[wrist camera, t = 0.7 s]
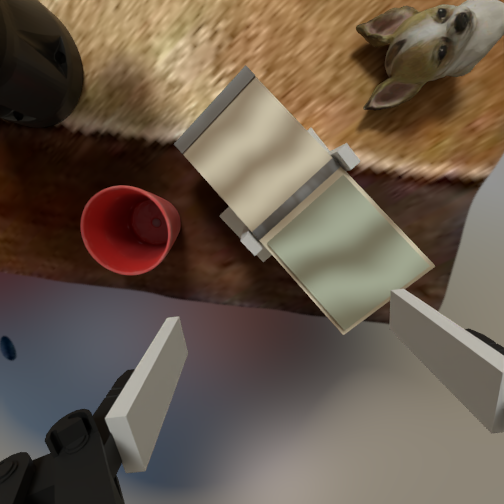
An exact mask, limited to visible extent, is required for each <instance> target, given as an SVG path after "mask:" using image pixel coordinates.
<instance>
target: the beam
mask: <svg viewBox="0 0 504 504" xmlns="http://www.w3.org/2000/svg"><path fill="white" fill-rule="evenodd" d="M174 145H175V146H176V147H177V148H178V149H179V151H180V152H181V153H182V154H183V155H184V156H185V157H186V158H187V159H188V160H189V162H190V163H191V164H192V165H193V166H194V167H195V168H196V169H197V171H198V172H199V173H200V174H201V175H202V176H203V177H204V178H205V180H206V181H207V182H208V183H209V184H210V185H211V186H212V188H213V189H214V190H215V191H216V192H217V193H218V194H219V195H220V197H221V198H222V199H223V200H224V201H225V202H226V203H227V204H228V206H229V207H230V208H231V209H232V210H233V211H234V212H235V213H236V215H237V216H238V217H239V218H240V219H241V220H242V221H243V223H244V224H245V225H246V226H247V227H248V228H249V229H250V230H251V232H252V233H253V234H254V235H255V236H256V237H257V239H258V240H259V241H260V242H261V243H262V244H263V245H264V246H265V247H266V248H267V250H268V251H269V252H270V253H271V254H272V255H273V256H274V258H275V259H276V260H277V261H278V262H279V263H280V264H281V265H282V267H283V268H284V269H285V270H286V271H287V272H288V273H289V274H290V276H291V277H292V278H293V279H294V280H295V281H296V282H297V283H298V285H299V286H300V287H301V288H302V289H303V290H304V291H305V293H306V294H307V295H308V296H309V297H310V298H311V299H312V300H313V302H314V303H315V304H316V305H317V306H318V307H319V308H320V309H321V311H322V312H323V313H324V314H325V315H326V316H327V317H328V318H329V320H330V321H331V322H332V323H333V324H334V325H335V326H336V327H337V329H338V330H339V331H340V332H341V333H342V334H343V335H344V334H345V333H347V332H348V331H350V330H351V329H352V328H354V327H355V326H356V325H358V324H359V323H360V322H362V321H363V320H364V319H366V318H367V317H368V316H370V315H371V314H372V313H374V312H375V311H376V310H378V309H379V308H380V307H382V306H383V305H384V304H386V303H387V302H388V301H390V297H391V290H396V289H406V288H407V287H408V286H410V285H411V284H412V283H414V282H415V281H416V280H418V279H419V278H420V277H422V276H423V275H424V274H426V273H427V272H428V271H430V270H431V269H432V268H434V267H435V265H434V264H433V263H432V262H431V261H430V260H429V259H428V258H427V257H426V256H425V255H424V254H423V253H422V251H421V250H420V249H419V248H418V247H417V246H416V245H415V244H414V243H413V242H412V241H411V240H410V239H409V238H408V237H407V236H406V235H405V234H404V233H403V231H402V230H401V229H400V228H399V227H398V226H397V225H396V224H395V223H394V222H393V221H392V220H391V219H390V218H389V217H388V216H387V215H386V214H385V212H384V211H383V210H382V209H381V208H380V207H379V206H378V205H377V204H376V203H375V202H374V201H373V200H372V199H371V198H370V197H369V196H368V195H367V194H366V192H365V191H364V190H363V189H362V188H361V187H360V186H359V185H358V184H357V183H356V182H355V181H354V180H353V179H352V178H351V177H350V176H349V175H348V173H347V172H346V171H345V170H344V169H343V168H342V167H341V166H340V164H339V163H338V162H337V161H336V160H335V159H334V158H332V157H331V156H330V155H329V153H328V152H327V151H326V150H325V149H324V148H323V147H322V146H321V145H320V144H319V143H318V142H317V141H316V140H315V139H314V138H313V137H312V136H311V135H310V133H309V132H308V131H307V130H306V129H305V128H304V127H303V126H302V125H301V124H300V123H299V122H298V121H297V120H296V119H295V118H294V117H293V116H292V114H291V113H290V112H289V111H288V110H287V109H286V108H285V107H284V106H283V105H282V104H281V103H280V102H279V101H278V100H277V99H276V98H275V97H274V96H273V94H272V93H271V92H270V91H269V90H268V89H267V88H266V87H265V86H264V85H263V84H262V83H261V82H260V81H259V80H258V79H257V78H256V77H255V75H254V74H253V73H252V71H251V70H250V69H249V68H248V67H247V66H245V67H244V68H243V69H242V70H241V71H240V72H239V73H238V74H237V76H236V77H235V78H234V79H233V80H232V81H231V82H230V83H229V84H228V85H227V86H226V88H225V89H224V90H223V91H222V92H221V93H220V94H219V95H218V96H217V97H216V99H215V100H214V101H213V102H212V103H211V104H210V105H209V106H208V107H207V108H206V109H205V111H204V112H203V113H202V114H201V115H200V116H199V117H198V118H197V119H196V120H195V121H194V123H193V124H192V125H191V126H190V127H189V128H188V129H187V130H186V131H185V132H184V133H183V135H182V136H181V137H180V138H179V139H178V140H177V141H176V142H175V143H174Z"/></svg>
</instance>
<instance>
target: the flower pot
mask: <svg viewBox="0 0 504 504" xmlns="http://www.w3.org/2000/svg"><path fill="white" fill-rule="evenodd" d="M180 228H181V220H180V216H179V213H178V212H177V210H176V208H175V207H174V206H173V205H172V204H171V203H170V202H168V201H167V200H165V199H163V198H161V197H159V196H157V195H155V194H152V193H150V192H147V191H145V190H142V189H140V188H136V187H133V186H126V185H119V186H112V187H109V188H106V189H103V190H101V191H99V192H98V193H97V194H95V195H94V196H93V197H92V198H91V199H90V200H89V201H88V203H87V204H86V206H85V208H84V210H83V213H82V217H81V235H82V239H83V242H84V244H85V247H86V248H87V250H88V252H89V253H90V255H91V256H92V257H93V258H94V259H95V260H96V261H97V262H98V263H99V264H100V265H102V266H103V267H105V268H106V269H108V270H110V271H112V272H115V273H118V274H122V275H140V274H144V273H146V272H149V271H151V270H152V269H154V268H155V267H157V266H158V265H159V264H160V263H161V262H162V261H163V260H164V258H165V257H166V256H167V254H168V252H169V251H170V249H171V247H172V246H173V244H174V242H175V240H176V238H177V236H178V234H179V232H180Z"/></svg>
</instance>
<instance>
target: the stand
mask: <svg viewBox="0 0 504 504" xmlns="http://www.w3.org/2000/svg"><path fill="white" fill-rule="evenodd" d="M308 132H309V133H310V135H311V136H312V137H313V138H314V139H315V140H316V141H317V142H318V143H319V144H320V145H321V146H322V147H323V148H324V149H325V150H326V151H327V152H328V153H329V155H330V156H331V157H332V158H334V159H335V160H336V161H337V162H338V163H339V164H340V166H341V167H342V168H343V169H344V170H345V171H347V170H351V169H353V168H354V167H355V166H356V165H357V164H358V163H359V162H360V160H359V159H358V157H357V156H356V155H355V153H354V152H353V151H352V150H351V148H350V147H349V146H348V144H347V143H346V144H344V145H342V146H340V147H338V148H336V149H334V150H332V151H329V149H328V148H327V147H326V146H325V144H324V143H323V142H322V141H321V139H320V138H319V137H318V136H317V134H316V133H315V132H314V130H313V129H312V128H310V129H309V130H308ZM219 217H220V218H221V219H222V220H223V221H224V222H225V223H226V224H227V225H228V226H229V227H230V228H231V229H232V230H233V231H234V232H235V233H236V234H237V235H238V236H239V237H240V239H241V242H242V243H243V244H244V245H245V246H246V247H247V248H248V249H249V250H250V251H251V253H252V254H253V255H254V256H255V255H257V256H258V257H259V258H260V259H261V260H262V261H263V262H264V261H266V260H267V259H268V258H269V257H270V256H271V255H272V254H271V253H270V252H269V251H268V250H267V248H266V247H265V246H264V245H263V244H262V243H261V242H260V241H259V240H258V239H257V237H256V236H255V235H254V234H253V233H252V232H251V230H250V229H249V228H248V227H247V226H246V225H245V224H244V223H243V221H242V220H241V219H240V218H239V217H238V216H237V215H236V213H235V212H234V211H233V210H232V209H231V208H230V207H228V208H227V209H226V210H225V211H224V212H223V213H222V214H221V215H220V216H219Z"/></svg>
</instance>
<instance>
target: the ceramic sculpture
mask: <svg viewBox="0 0 504 504" xmlns="http://www.w3.org/2000/svg"><path fill="white" fill-rule="evenodd" d="M356 30H357V32H358V33H359V34H361V35H362V36H363V37H364V38H365V40H366V41H368V42H369V43H370V44H371V45H372V46H373V47H376V48H377V47H382V46H384V45H386V44H388V43H390V47H389V49H388V51H387V53H386V58H385V68H386V72H387V74H388V76H389V77H390V78H388V79H387V80H385V81H384V82H382V83H380V84H379V85H378V86H377V87H376V88H375V90H374V92H373V93H372V95H371V97H370V99H369V100H368V102H367V103H366V104H365V106H364V107H363V109H364V110H381V109H386V108H391V107H395V106H398V105H399V104H401V103H403V102H406V101H408V100H410V99H411V98H412V97H414V96H415V95H416V94H417V93H418V92H419V90H420V89H421V87H422V86H423V85H424V84H425V83H426V82H427V81H434V80H436V79H438V78H443V77H445V76H447V75H448V76H452V77H458V76H463V75H465V74H467V73H469V72H470V71H471V70H472V69H473V68H474V66H475V65H476V64H477V63H478V62H479V61H480V60H481V59H482V58H483V57H484V56H485V55H486V54H487V53H488V52H489V51H490V50H491V48H492V47H493V46H494V45H495V44H496V43H497V41H498V40H499V39H500V38H501V37H502V36H503V35H504V3H502V2H500V1H498V0H467V1H466V2H464V3H462V4H461V5H459V6H457V7H456V6H454V5H439V6H437V7H434V8H430V9H427V10H425V11H422V12H418V11H417V10H416V9H414V8H412V7H409V6H403V7H401V8H392V9H390V10H388V11H386V12H385V13H384V14H381V15H379V16H377V17H375V18H374V19H372V20H370V21H369V22H367V23H363V24H360V25H358V26H357V27H356Z"/></svg>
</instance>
